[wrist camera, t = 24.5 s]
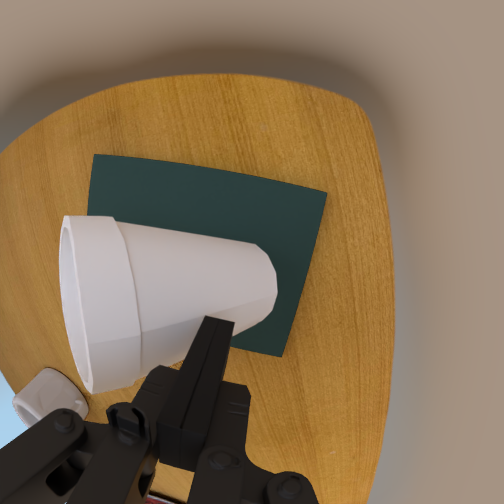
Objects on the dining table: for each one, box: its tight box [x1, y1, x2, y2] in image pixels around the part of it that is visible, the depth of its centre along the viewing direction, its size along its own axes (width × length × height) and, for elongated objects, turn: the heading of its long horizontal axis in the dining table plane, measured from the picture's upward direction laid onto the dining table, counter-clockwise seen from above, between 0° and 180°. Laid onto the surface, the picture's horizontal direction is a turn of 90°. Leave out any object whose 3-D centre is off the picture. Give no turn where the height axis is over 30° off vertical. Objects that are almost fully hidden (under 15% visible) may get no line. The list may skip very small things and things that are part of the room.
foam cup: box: [59, 216, 278, 395], centre depth 16 cm, size 10×9×13 cm
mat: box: [87, 154, 327, 357], centre depth 24 cm, size 22×16×1 cm
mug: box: [12, 368, 88, 428], centre depth 28 cm, size 14×11×10 cm
